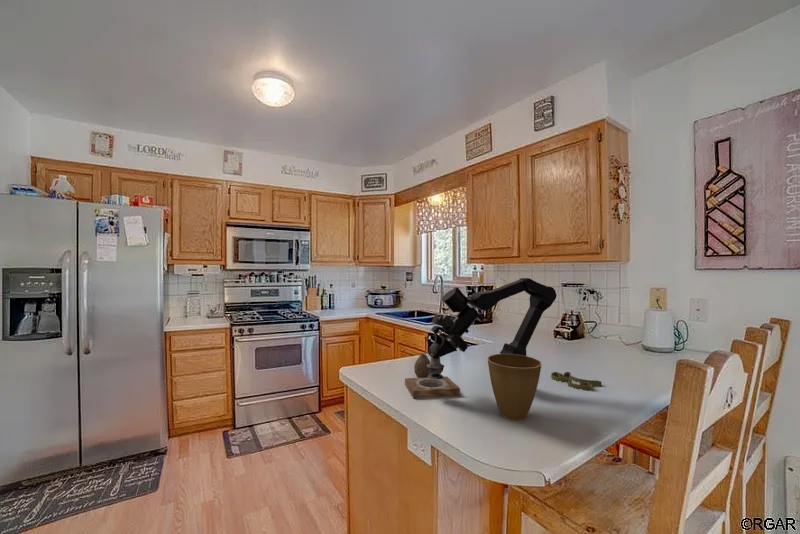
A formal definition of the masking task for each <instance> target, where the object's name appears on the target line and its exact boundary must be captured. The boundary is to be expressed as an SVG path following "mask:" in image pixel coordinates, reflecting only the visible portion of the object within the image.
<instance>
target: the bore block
mask: <svg viewBox="0 0 800 534" xmlns="http://www.w3.org/2000/svg"><path fill="white" fill-rule="evenodd" d="M404 386H405V388H406V389H408V390H407V391H408V393H409V394H410V396H411V398H412V399H427V398H429V397H430V398H442V397H446V398H447V397H460V396H461V388H460V386H458V384H456V382H454V381H453V380H452V379H451V378H449V376H443V378H442V379H430V378H428V377H425V378H418V377H407V378H404ZM434 386H436V387H434Z"/></svg>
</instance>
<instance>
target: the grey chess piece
mask: <svg viewBox="0 0 800 534" xmlns="http://www.w3.org/2000/svg"><path fill="white" fill-rule="evenodd" d="M434 342H435V343H434ZM439 347H440V345H439V344H438V343H436V340H435V339H434V341H433V342H432V344H430V350H431V354H430V355H431V356H430V355H429V356H430V364H428V365H427V367H428V371H429V372H430V373H431V374H429V375H428V376H427V377H428V378H430V379H442V378H443V377H444V375H442V373H443V372H444V369H445V365H444V364H442V363H441V357H439V358H437V359H434V358H433V355H434V354H435V352H436V351H437V349H438V348H439Z"/></svg>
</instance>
